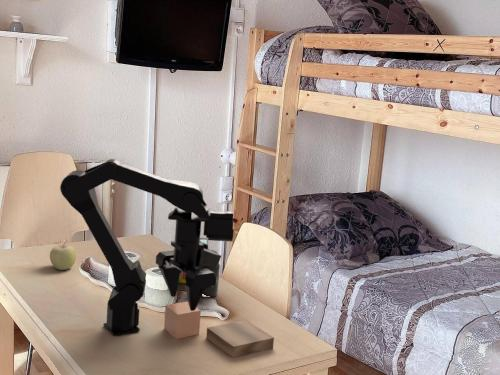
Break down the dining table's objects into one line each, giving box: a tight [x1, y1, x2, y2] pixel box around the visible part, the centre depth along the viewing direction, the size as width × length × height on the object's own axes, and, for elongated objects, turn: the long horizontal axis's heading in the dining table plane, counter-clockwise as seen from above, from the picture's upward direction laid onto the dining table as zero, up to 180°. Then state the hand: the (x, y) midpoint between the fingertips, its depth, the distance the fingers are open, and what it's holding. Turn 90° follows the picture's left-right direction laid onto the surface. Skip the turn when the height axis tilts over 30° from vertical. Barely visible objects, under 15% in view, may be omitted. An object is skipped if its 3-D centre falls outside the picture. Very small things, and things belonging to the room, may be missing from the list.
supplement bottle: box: [196, 249, 221, 298], centre depth 175 cm, size 7×7×12 cm
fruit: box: [49, 242, 77, 271], centre depth 186 cm, size 8×7×8 cm
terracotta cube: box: [163, 301, 202, 340], centre depth 150 cm, size 6×6×6 cm
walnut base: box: [205, 319, 275, 358], centre depth 146 cm, size 11×11×2 cm
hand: (182, 303), depth 149 cm, fingers open, 9 cm apart
